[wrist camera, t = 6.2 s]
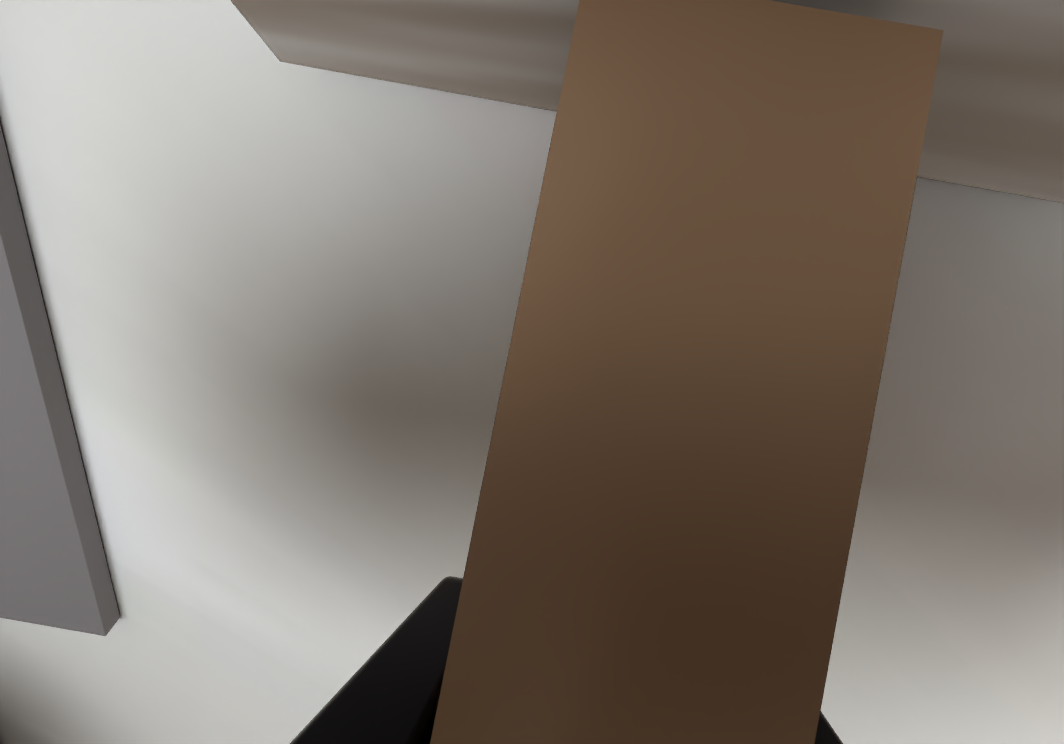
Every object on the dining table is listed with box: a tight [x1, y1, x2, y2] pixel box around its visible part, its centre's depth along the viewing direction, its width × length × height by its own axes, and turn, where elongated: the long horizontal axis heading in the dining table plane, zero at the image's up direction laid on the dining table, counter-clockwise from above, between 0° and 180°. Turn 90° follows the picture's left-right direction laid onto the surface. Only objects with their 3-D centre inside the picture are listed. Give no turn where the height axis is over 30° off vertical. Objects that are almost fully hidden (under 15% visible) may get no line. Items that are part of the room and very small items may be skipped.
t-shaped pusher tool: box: [231, 0, 1064, 744], centre depth 8 cm, size 12×12×6 cm
